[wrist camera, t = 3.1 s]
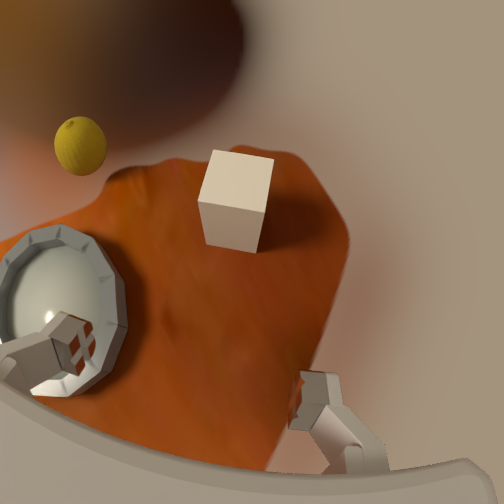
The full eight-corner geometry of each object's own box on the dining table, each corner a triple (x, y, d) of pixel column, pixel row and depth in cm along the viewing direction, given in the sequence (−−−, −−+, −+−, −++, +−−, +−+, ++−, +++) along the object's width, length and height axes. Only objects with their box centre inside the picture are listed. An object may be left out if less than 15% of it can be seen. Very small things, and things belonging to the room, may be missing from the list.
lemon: (93, 144, 31) (70, 98, 23) (124, 158, 30) (103, 108, 23) (65, 178, 29) (34, 136, 22) (94, 196, 29) (63, 151, 21)
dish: (137, 393, 22) (127, 396, 20) (8, 390, 20) (-7, 390, 18) (122, 224, 28) (114, 212, 25) (6, 248, 26) (-7, 240, 23)
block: (255, 253, 27) (264, 212, 20) (206, 244, 27) (197, 201, 20) (263, 209, 29) (273, 159, 22) (217, 201, 29) (213, 149, 22)
